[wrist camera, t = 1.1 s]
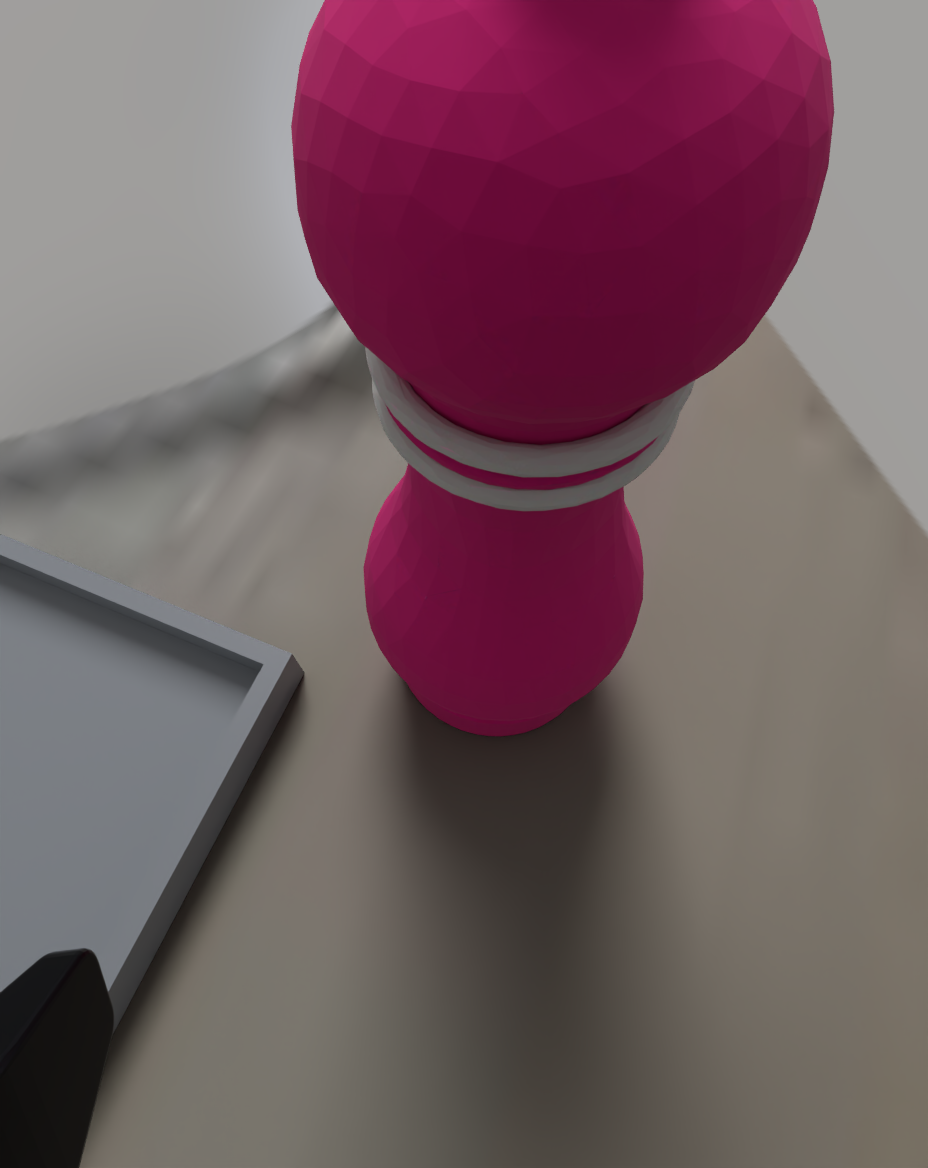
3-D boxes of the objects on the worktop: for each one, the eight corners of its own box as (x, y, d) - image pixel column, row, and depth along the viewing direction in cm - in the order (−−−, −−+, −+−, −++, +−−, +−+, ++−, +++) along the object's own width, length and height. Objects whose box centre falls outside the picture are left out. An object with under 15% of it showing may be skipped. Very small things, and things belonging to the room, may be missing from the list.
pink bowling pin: (338, 616, 23) (-105, -453, 5) (514, 504, 25) (656, -585, 7) (470, 803, 21) (529, 35, 3) (655, 663, 23) (1455, -369, 4)
